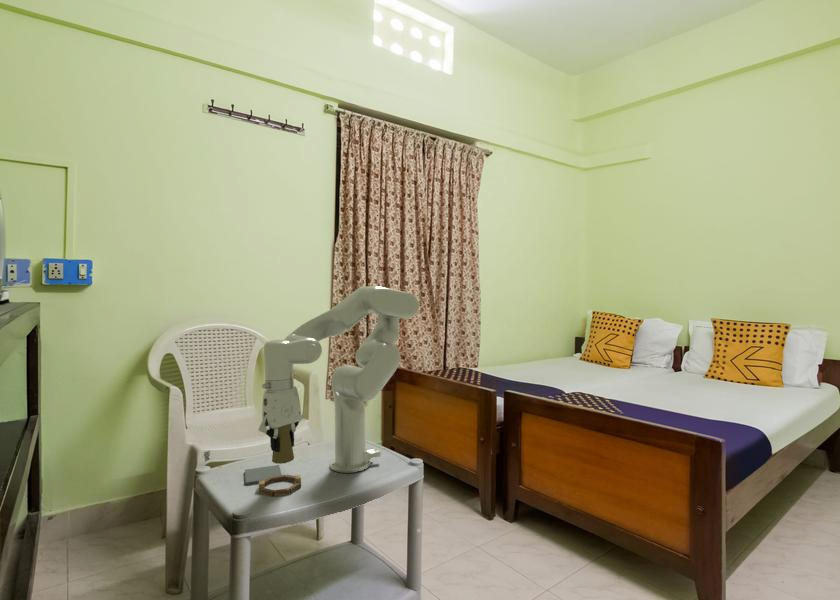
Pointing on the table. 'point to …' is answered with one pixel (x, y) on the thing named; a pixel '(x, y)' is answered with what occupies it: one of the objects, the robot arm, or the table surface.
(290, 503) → the table surface
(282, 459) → the cork
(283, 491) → the collar
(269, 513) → the table surface
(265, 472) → the pad
